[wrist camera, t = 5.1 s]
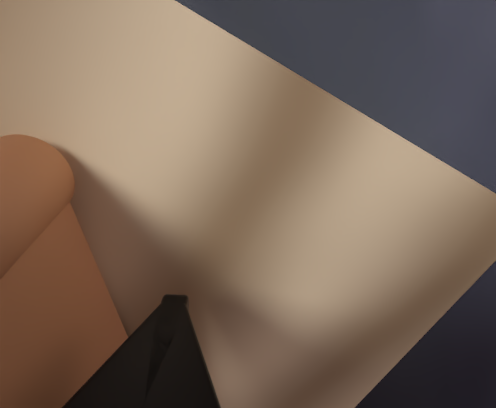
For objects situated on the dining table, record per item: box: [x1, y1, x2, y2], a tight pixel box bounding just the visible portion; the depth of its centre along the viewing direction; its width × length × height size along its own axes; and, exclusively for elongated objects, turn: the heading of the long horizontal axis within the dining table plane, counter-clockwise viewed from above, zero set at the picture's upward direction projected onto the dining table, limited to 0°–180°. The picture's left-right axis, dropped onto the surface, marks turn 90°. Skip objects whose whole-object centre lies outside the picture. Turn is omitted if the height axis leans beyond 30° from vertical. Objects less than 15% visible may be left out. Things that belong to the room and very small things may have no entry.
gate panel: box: [0, 134, 128, 408], centre depth 6 cm, size 2×9×5 cm, turn 8°
